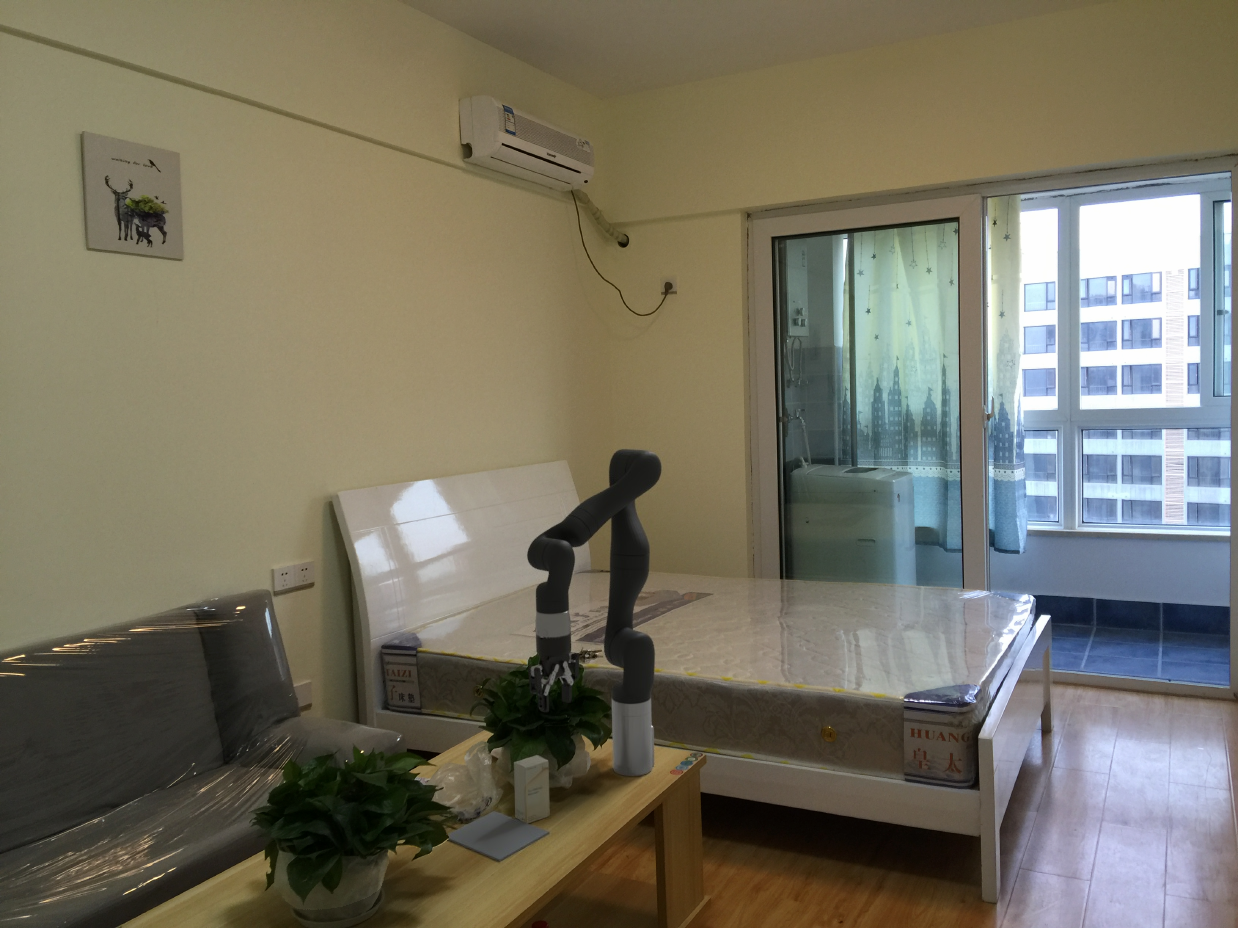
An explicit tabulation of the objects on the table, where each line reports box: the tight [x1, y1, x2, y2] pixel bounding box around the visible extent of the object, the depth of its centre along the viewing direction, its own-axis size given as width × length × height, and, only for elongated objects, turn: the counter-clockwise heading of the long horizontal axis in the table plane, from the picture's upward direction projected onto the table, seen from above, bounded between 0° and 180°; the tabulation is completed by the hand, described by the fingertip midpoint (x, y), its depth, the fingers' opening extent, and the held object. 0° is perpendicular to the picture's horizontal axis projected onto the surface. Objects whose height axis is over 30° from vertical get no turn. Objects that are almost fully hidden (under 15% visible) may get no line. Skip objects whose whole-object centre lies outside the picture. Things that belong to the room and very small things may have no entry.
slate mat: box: [447, 810, 550, 862], centre depth 195 cm, size 14×16×1 cm
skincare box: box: [513, 754, 551, 824], centre depth 202 cm, size 6×4×12 cm
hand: (555, 706), depth 207 cm, fingers open, 6 cm apart
